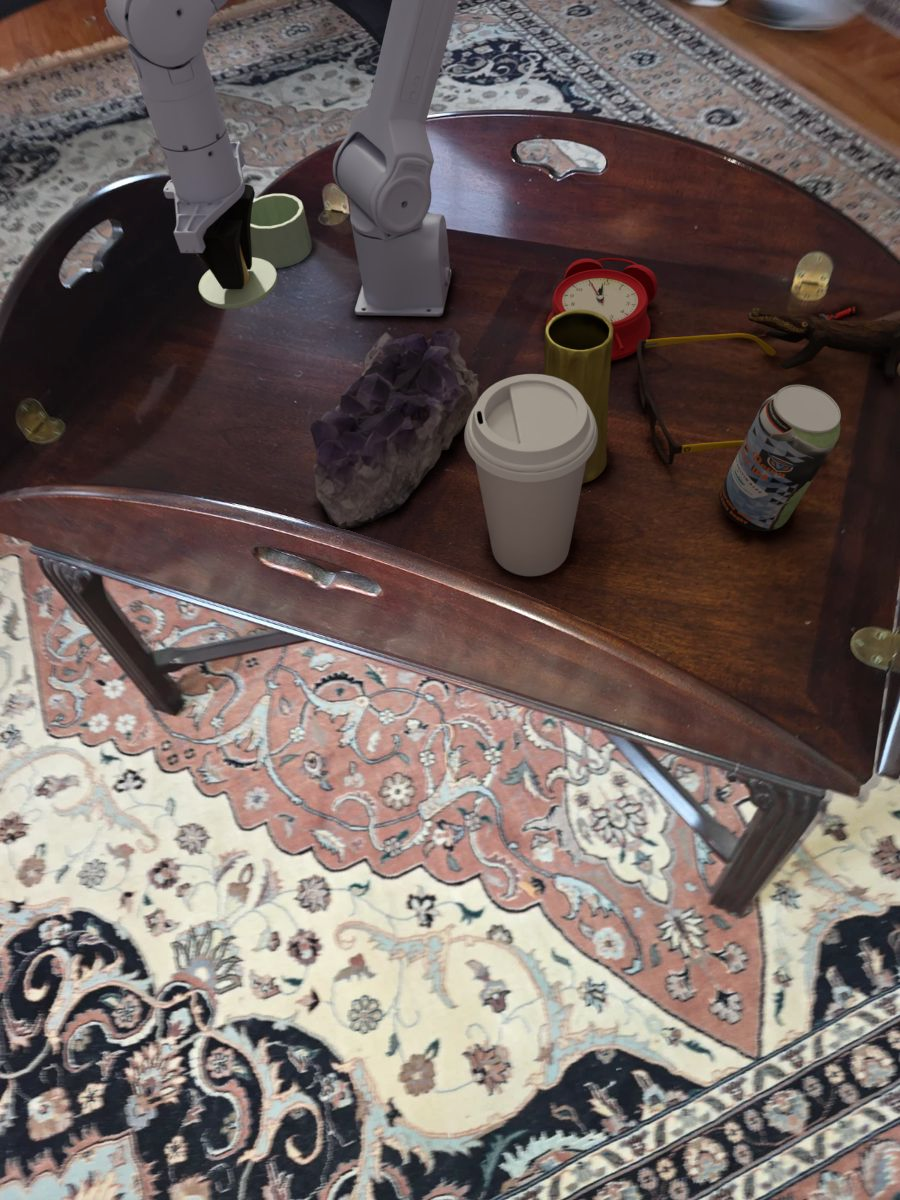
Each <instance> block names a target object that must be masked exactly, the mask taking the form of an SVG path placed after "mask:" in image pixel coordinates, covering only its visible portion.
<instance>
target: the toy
mask: <svg viewBox="0 0 900 1200" xmlns="http://www.w3.org/2000/svg"><path fill="white" fill-rule="evenodd" d="M747 320H748V321H750V322H754V323H756V324H759V325H763V326H765V327H768V328H769V329H765V331H764V332H763V333H764V334H765V335H768V336H767V337H770V338H774V339H777V340H781V341H783V342H786V343H792V344H793V343H794V344H796V343H799V342H801V341H803V340H804V339H805V340H807V341H808V343H807V344H806V345H805V346H804V347H803V348H802V349H801V350H799V351H798V352H797V353H795V354H794V355H793V356H791V357H789V358H787V359H786V360H785V361H783V362H781V363H780V365H779V366H780V368H781V369H783V370H789V369H793V368H797V367H801V366H804V365H805V364H807V363H808V362H809V363H810V362H812V361H813V360H814V359H815V357H817V355H818V354H819V353H821V351H822V349H824V348H825V347H828V348H830V349H833V350H839V351H845V352H853V353H861V354H862V353H863V354H871V355H873V354H878V353H879V354H880V353H881V354H884V361H883V362H884V365H883V370H884V374H885V377H886V378H891V379H894V377H895V373H896V362H897V358H898V354H899V353H900V319H889V320H888V319H881V320H850V321H846V320H839V319H836V320H826V319H820V317H819V316H818V317H817V316H815V315H812V314H809V315H806V313H803V312H801V313H797V314H791V313H785V312H783V311H778V310H772V309H764V308H763V309H762V308H760V307H753V308H751V311H750V312H748V314H747Z"/></svg>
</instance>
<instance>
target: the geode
mask: <svg viewBox="0 0 900 1200" xmlns="http://www.w3.org/2000/svg"><path fill="white" fill-rule="evenodd" d="M460 346H461V335H460V334H459V333H458V332H457V330H455V329H454V328H437V329H436V330H435V331H434V332H433V334H432V336H431V338H429V339H428V340H427V339H426V338H425V336H424V335H423V334H422V333H411V334H409V335H406V336H404V337H403V336H402V337H400V338H396V337H393V336H391V335H390V334H389V333H388V332H386V331H385V332H384V333H383V334H382V335H381V336H380V337H379V338H378V339H377V340H376V342H375V343H374V344H373V346H372V348H371V349H370V351H368V353H367V354H366V357H365V360H364V371H363V372H362V373H361V374H360V377H358V378H357V379H355V380H354V381H353V382H351V383H350V384H349V385H347V387H346V389H345V392H344V393H343V394H342V395H341V396H340V403H339V404H338V405H337V406H335V409H334V410H330V411H327V412H324V414H323V415H322V417H321V418H320V420H319V419H315V421H314V422H312V423H311V425H310V426H309V430H310V433H311V436H312V439H313V442H314V446H315V451H316V457H315V458H316V464H314V465H312V470H313V471H312V472H313V473H312V474H313V477H314V479H315V493H316V494H315V495H316V498H317V500H318V502H319V504H320V506H321V507H322V509H323V510H324V513H326V515H327V518H328V520H329V522H330V524H332V525H336V526H337V527H338V528H339V529H340V530H347V529H352V528H356V527H360V526H362V525H366V524H367V523H371V522H375V521H377V520H378V519H380V518H382V517H384V516H386V515H390V514H391V513H393V512H395V511H397V510H399V509H401V508H402V506H404V504H405V503H406V502H407V500H408V498H410V496H411V495H412V493H413V492H415V491H416V489H417V488H418V486H419V484H421V482H422V481H423V480H424V478H425V477H426V475H427V474H428V473H429V471H430V470H431V469H433V468H434V467H435V465H436V463H437V462H438V461H439V459H440V458H441V455H442V451H447V450H449V449H450V447H451V444H452V442H453V438H454V437H456V436H457V435H458V434H459V433H460V432H461V430H462V429H463V428H464V426H466V424H467V420H468V418H469V415H470V413H471V411H472V410H473V408H474V406H475V405H476V404H477V402H478V400H479V398H480V397H479V386H480V384H479V379H478V373H474V370H473V369H472V370H471V369H468V368H467V365H466V361H465V359H464V358H463V357H462V356H461V354H460Z"/></svg>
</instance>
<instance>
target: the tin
mask: <svg viewBox="0 0 900 1200" xmlns="http://www.w3.org/2000/svg"><path fill="white" fill-rule="evenodd" d="M312 248H313V245H312V238H311V234H310V229H309V226H308V220H307V216H306V211H305V208H304V203H303V201H302V200H301V199H299V198H298V197H297V196H296V195H292V194H288V193H270V194H265V195H261V196H259V197H257V198H254V200H253V205H252V212H251V249H252V257H255V258H260V259H263V260H266V261H268V262H269V263H271V264H272V265H273V266H274V268H275V269H282V268H287V267H291V266H294V265H296V264H299V263H300V262H302V261H303V260H305V259H306V258H307V257H308V256H309V255H310V253H311V251H312Z"/></svg>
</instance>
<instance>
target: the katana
mask: <svg viewBox="0 0 900 1200" xmlns="http://www.w3.org/2000/svg"><path fill="white" fill-rule="evenodd" d="M856 313H857V308H856V306H850V307H848V308H846V309H844V310H842V311H839V312H836V313H833V314H827V315H826V314H824V313H819V314H818V318H820V319H826V320H839V319H841V318H843V317H846V316H849V315H854V314H856ZM752 335H753V336H756V337H758V338H759V339H762V338H766V337H769V336H768V335H765V334H764V332H763V333H758V334H752ZM740 339H741V340H745V341H748V340H750V339H748V338H740Z"/></svg>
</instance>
